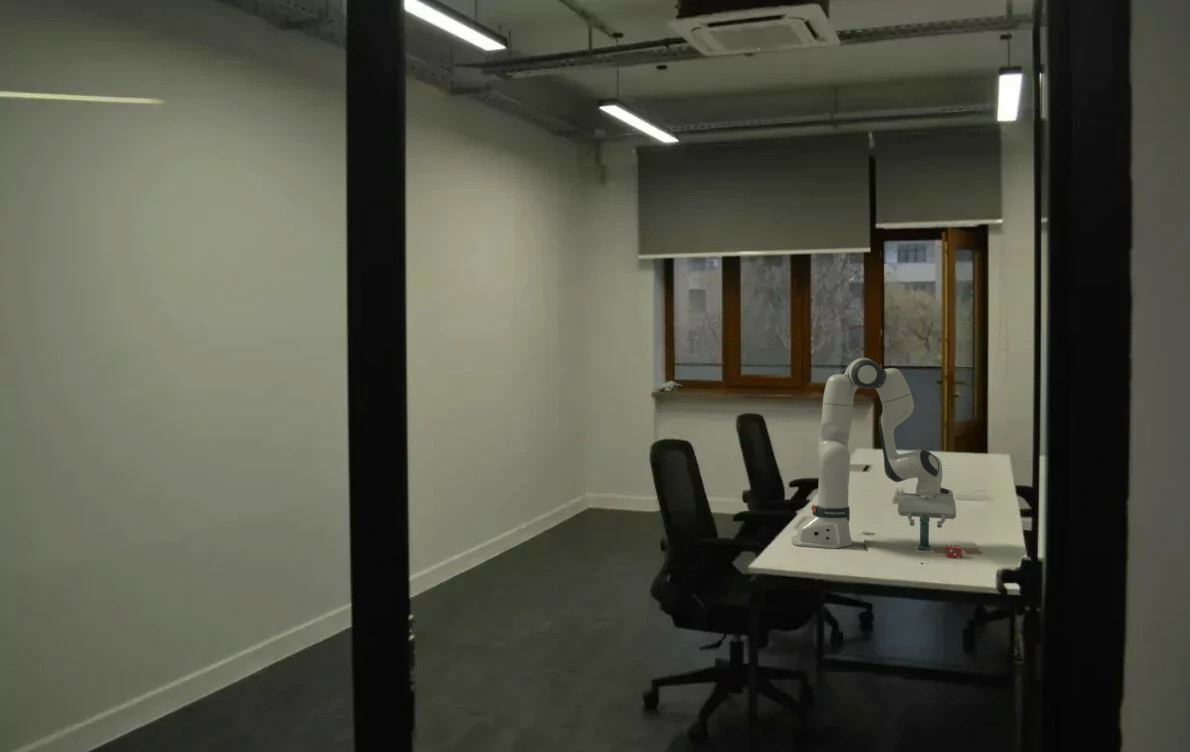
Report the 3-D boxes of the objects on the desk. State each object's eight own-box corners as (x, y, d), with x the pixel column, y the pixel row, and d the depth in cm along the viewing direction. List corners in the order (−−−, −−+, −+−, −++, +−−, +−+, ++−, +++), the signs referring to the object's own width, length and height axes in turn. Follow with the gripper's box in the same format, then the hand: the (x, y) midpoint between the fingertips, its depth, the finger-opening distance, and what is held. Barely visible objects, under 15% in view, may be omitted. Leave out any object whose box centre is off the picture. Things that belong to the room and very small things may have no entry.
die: (948, 560, 334) (948, 547, 333) (945, 557, 338) (945, 544, 338) (961, 561, 333) (961, 548, 333) (958, 558, 337) (959, 545, 337)
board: (917, 555, 342) (917, 552, 342) (912, 548, 352) (912, 546, 352) (985, 557, 338) (985, 554, 338) (978, 550, 348) (978, 548, 348)
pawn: (918, 550, 344) (919, 516, 344) (916, 547, 349) (917, 513, 348) (931, 551, 344) (932, 516, 343) (929, 548, 348) (929, 514, 347)
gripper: (898, 488, 358) (894, 518, 350) (956, 491, 350) (954, 522, 341) (899, 497, 362) (896, 528, 354) (957, 501, 354) (955, 532, 345)
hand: (925, 525), depth 347 cm, fingers open, 8 cm apart
